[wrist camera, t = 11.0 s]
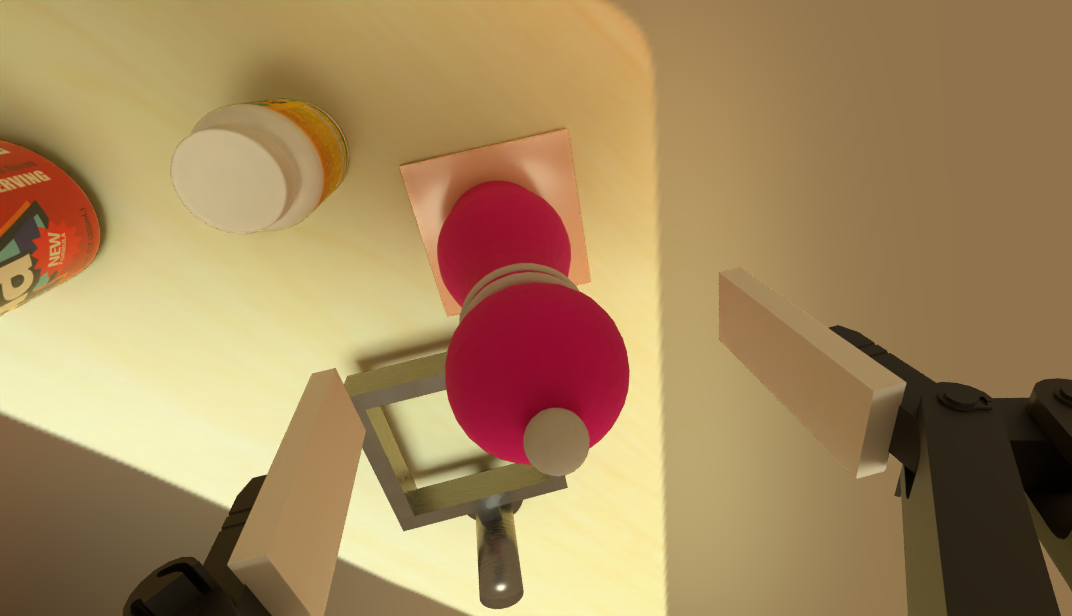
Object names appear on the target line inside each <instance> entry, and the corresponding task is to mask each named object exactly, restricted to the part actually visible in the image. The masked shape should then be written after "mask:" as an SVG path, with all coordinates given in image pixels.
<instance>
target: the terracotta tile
mask: <svg viewBox="0 0 1072 616" xmlns="http://www.w3.org/2000/svg"><path fill="white" fill-rule="evenodd" d="M399 168H400V171H401V174H402V177H403V180H404V184H405V187H406V190H407V193H408V196H409V199H410V202H411V205H412V208H413V212H414V215H415V218H416V221H417V224H418V227H419V230H420V233H421V236H422V240H423V243H424V246H425V249H426V252H427V255H428V258H429V261H430V265H431V268H432V271H433V274H434V277H435V280H436V283H437V286H438V289H439V293H440V296H441V299H442V302H443V305H444V308H445V311H446V314H447V317H449V316H453V315H457V314H460V313H461V309H462V307H461V306H460V305H459V304H458V303H457V302H456V301H455V299H454V298H453V297H452V296H451V294H450V293H449V291H448V290H447V288H446V286H445V284H444V282H443V280H442V277H441V274H440V269H439V264H438V258H437V244H438V237H439V234H440V231H441V228H442V226H443V224H444V222H445V220H446V218H447V216H448V215H449V214H450V212H451V210H452V208H453V206H454V205H455V203H456V202H457V200H458V199H459V198H460V197H461V196H462V195H463V194H464V193H465V192H466V191H467V190H469V189H471V188H472V187H474V186H476V185H478V184H481V183H484V182H488V181H508V182H512V183H515V184H518V185H520V186H522V187H523V188H525V189H527V190H528V191H530V192H533V193H534V194H536V195H538V196H540V197H541V198H543V199H544V200H545V201H547V202H548V203H549V204H550V205H551V206H552V207H553V208H554V209H555V211H556V212H557V213H558V215H559V216H560V217H561V219H562V222H563V224H564V226H565V228H566V231H567V233H568V236H569V240H570V245H571V262H570V269H569V275H568V278H569V279H570V280H571V281H572V282H573V283H574V285H575V286H576V285H580V284H585V283H589V282H591V280H590V273H589V267H588V260H587V253H586V247H585V240H584V233H583V227H582V220H581V213H580V207H579V200H578V193H577V187H576V180H575V174H574V167H573V160H572V154H571V147H570V140H569V134H568V129H566V128H565V129H560V130H556V131H552V132H547V133H543V134H538V135H534V136H529V137H525V138H521V139H516V140H512V141H507V142H503V143H498V144H494V145H490V146H485V147H481V148H476V149H472V150H467V151H463V152H459V153H454V154H450V155H445V156H441V157H436V158H432V159H428V160H423V161H419V162H414V163H410V164H405V165H401V166H400V167H399Z"/></svg>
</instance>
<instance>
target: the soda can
mask: <svg viewBox="0 0 1072 616" xmlns="http://www.w3.org/2000/svg"><path fill="white" fill-rule="evenodd" d="M99 245H100V226H99V222H98V218H97V215H96V212H95V210H94V208H93V206H92V204H91V202H90V200H89V199H88V197H87V196H86V194H85V193H84V192H83V190H82V189H81V188H80V187H79V185H78V184H77V183H76V182H75V181H74V180H73V179H72V178H71V177H70V176H69V175H68V174H67V173H65V172H64V171H63V170H62V169H61V168H59V167H58V166H57V165H55V164H54V163H52V162H51V161H49V160H48V159H46V158H44V157H43V156H41V155H39V154H37V153H35V152H33V151H31V150H29V149H27V148H24V147H22V146H19V145H17V144H14V143H10V142H7V141H3V140H0V316H2V315H4V314H6V313H8V312H10V311H12V310H14V309H15V308H17V307H19V306H21V305H23V304H25V303H27V302H29V301H30V300H32V299H34V298H36V297H38V296H40V295H42V294H44V293H45V292H47V291H49V290H51V289H53V288H55V287H57V286H59V285H60V284H62V283H64V282H66V281H68V280H69V279H71V278H73V277H75V276H76V275H78V274H79V273H81V272H82V271H83V270H84V269H86V268H87V267H88V266H89V265H90V264H91V262H92V261H93V260H94V258H95V256H96V254H97V252H98V249H99Z"/></svg>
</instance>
